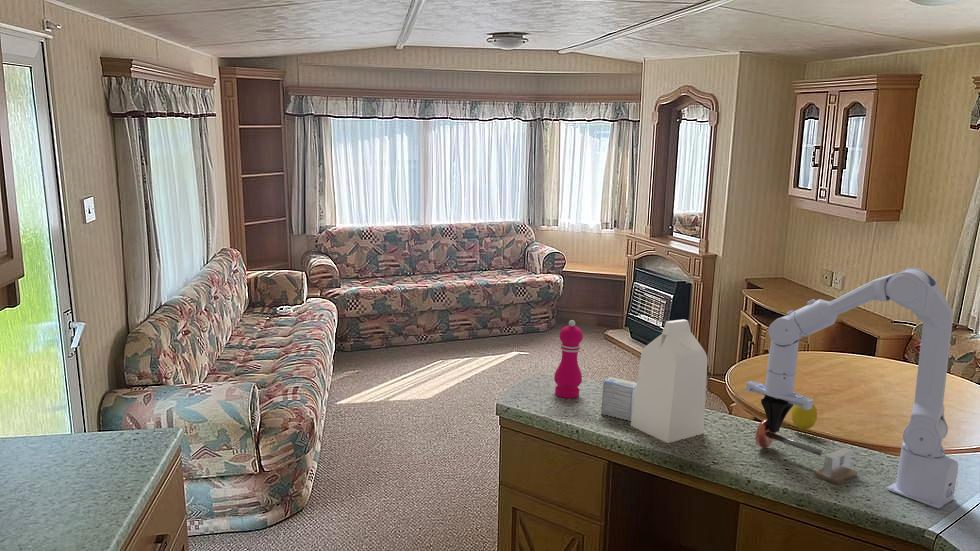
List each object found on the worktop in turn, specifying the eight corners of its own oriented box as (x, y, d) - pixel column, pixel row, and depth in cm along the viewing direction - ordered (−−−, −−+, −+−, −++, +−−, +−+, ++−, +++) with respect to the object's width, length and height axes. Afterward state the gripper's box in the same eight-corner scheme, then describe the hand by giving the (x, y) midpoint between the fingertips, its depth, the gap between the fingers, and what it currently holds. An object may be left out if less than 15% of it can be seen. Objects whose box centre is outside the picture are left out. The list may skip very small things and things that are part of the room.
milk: (665, 417, 177) (675, 313, 173) (703, 433, 168) (714, 324, 164) (630, 425, 171) (639, 317, 166) (667, 443, 161) (678, 329, 157)
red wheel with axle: (826, 464, 153) (830, 435, 152) (811, 471, 150) (814, 441, 148) (765, 441, 164) (768, 414, 163) (749, 447, 160) (752, 419, 159)
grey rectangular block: (637, 417, 177) (640, 383, 175) (630, 422, 173) (633, 387, 171) (607, 409, 181) (610, 376, 179) (600, 414, 177) (602, 380, 175)
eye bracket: (857, 475, 149) (860, 452, 149) (838, 485, 144) (841, 461, 144) (833, 466, 153) (836, 444, 152) (813, 475, 148) (816, 452, 147)
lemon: (817, 436, 170) (821, 403, 168) (792, 433, 171) (796, 401, 169) (811, 428, 175) (815, 396, 174) (787, 425, 176) (791, 393, 175)
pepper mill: (552, 397, 188) (557, 322, 184) (554, 388, 195) (559, 316, 191) (580, 400, 186) (585, 324, 183) (581, 391, 193) (586, 318, 190)
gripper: (823, 377, 154) (815, 438, 156) (760, 360, 165) (754, 417, 167) (806, 382, 149) (798, 445, 152) (743, 364, 160) (736, 423, 163)
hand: (773, 431), depth 159 cm, fingers closed
